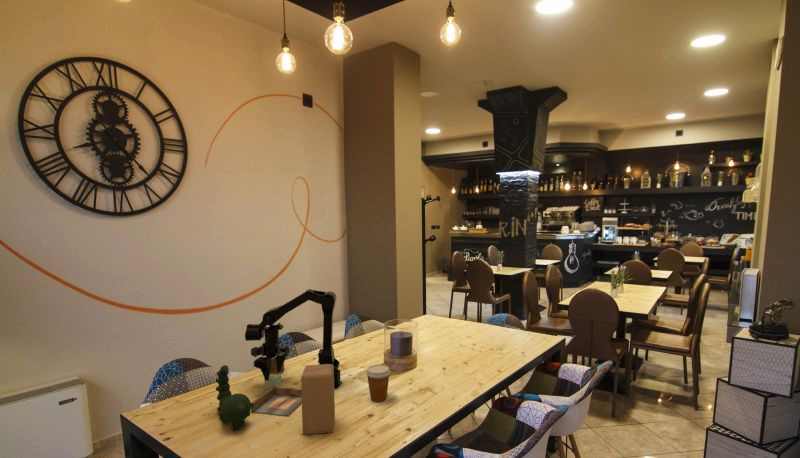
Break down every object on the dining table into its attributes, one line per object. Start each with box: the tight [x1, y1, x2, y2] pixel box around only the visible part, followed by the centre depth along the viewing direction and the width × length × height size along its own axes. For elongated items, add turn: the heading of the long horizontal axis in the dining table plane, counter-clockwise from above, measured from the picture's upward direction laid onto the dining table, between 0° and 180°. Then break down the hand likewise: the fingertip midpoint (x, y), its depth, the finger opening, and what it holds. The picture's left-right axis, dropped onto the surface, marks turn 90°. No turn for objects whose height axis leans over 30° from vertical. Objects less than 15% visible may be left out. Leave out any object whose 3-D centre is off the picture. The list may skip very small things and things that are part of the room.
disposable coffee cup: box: [365, 364, 391, 403], centre depth 156 cm, size 10×10×12 cm
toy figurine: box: [215, 364, 252, 430], centre depth 141 cm, size 9×19×25 cm
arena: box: [250, 386, 302, 417], centre depth 153 cm, size 15×15×4 cm
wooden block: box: [300, 364, 336, 435], centre depth 136 cm, size 10×10×20 cm
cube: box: [263, 374, 283, 391], centre depth 168 cm, size 5×5×5 cm
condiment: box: [270, 344, 287, 375], centre depth 185 cm, size 7×8×12 cm
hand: (273, 376), depth 168 cm, fingers open, 9 cm apart
